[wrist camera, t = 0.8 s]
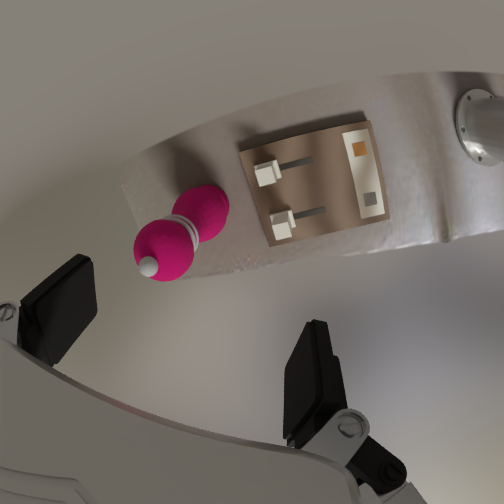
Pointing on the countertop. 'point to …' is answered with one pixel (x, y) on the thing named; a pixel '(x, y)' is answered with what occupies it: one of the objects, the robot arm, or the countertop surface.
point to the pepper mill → (180, 233)
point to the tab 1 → (267, 173)
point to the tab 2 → (283, 224)
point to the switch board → (321, 181)
